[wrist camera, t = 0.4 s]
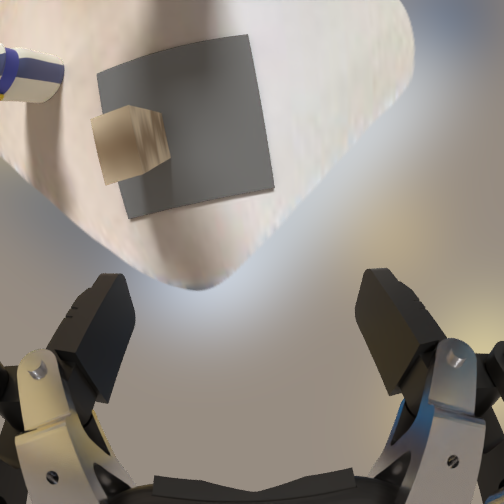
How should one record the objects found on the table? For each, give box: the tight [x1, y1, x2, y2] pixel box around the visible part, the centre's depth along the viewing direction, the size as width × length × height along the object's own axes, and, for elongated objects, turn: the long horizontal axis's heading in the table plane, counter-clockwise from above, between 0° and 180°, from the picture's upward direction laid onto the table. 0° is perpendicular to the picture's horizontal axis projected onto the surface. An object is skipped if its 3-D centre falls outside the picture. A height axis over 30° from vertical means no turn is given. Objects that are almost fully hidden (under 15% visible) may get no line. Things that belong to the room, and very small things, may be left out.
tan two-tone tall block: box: [91, 105, 171, 185], centre depth 25 cm, size 6×4×13 cm, turn 9°
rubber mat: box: [97, 34, 275, 219], centre depth 31 cm, size 21×20×1 cm
